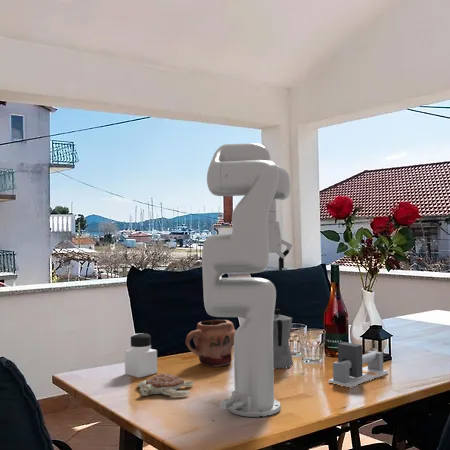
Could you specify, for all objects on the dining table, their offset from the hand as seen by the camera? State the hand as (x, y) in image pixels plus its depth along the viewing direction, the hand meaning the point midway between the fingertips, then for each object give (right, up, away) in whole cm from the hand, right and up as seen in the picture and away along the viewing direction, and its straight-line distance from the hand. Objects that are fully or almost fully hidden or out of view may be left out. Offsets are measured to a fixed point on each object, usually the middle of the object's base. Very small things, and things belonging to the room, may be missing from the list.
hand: (265, 270), depth 172 cm
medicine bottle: (-39, -31, -9) cm, 50 cm away
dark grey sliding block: (+22, -28, -21) cm, 41 cm away
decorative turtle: (-30, -31, -27) cm, 50 cm away
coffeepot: (+4, -30, -2) cm, 31 cm away
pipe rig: (+26, -30, -18) cm, 43 cm away
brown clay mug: (-17, -31, +1) cm, 35 cm away
